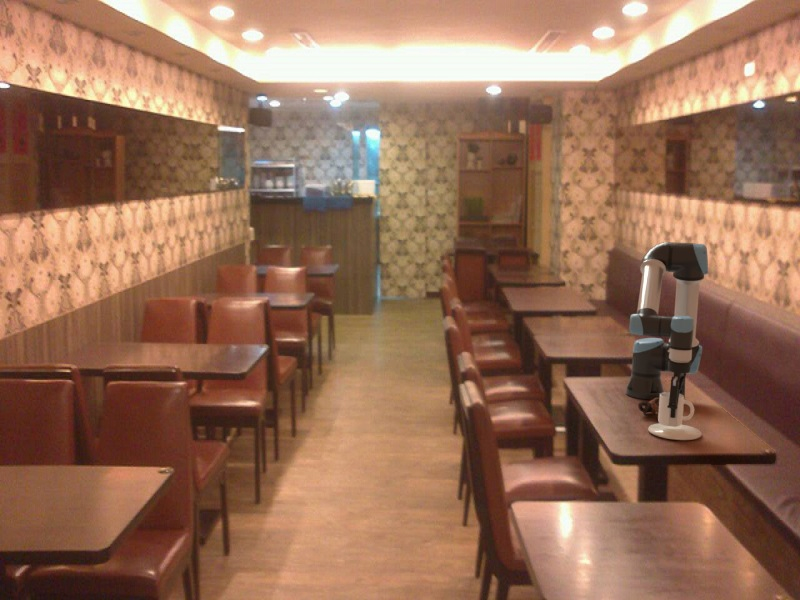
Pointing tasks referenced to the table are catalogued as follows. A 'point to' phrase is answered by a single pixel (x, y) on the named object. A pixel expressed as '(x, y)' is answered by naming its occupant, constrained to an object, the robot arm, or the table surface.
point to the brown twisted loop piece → (649, 406)
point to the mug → (664, 411)
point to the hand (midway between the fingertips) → (675, 422)
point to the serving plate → (675, 432)
